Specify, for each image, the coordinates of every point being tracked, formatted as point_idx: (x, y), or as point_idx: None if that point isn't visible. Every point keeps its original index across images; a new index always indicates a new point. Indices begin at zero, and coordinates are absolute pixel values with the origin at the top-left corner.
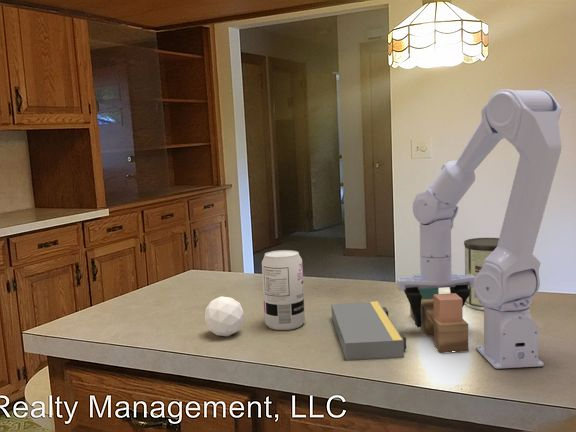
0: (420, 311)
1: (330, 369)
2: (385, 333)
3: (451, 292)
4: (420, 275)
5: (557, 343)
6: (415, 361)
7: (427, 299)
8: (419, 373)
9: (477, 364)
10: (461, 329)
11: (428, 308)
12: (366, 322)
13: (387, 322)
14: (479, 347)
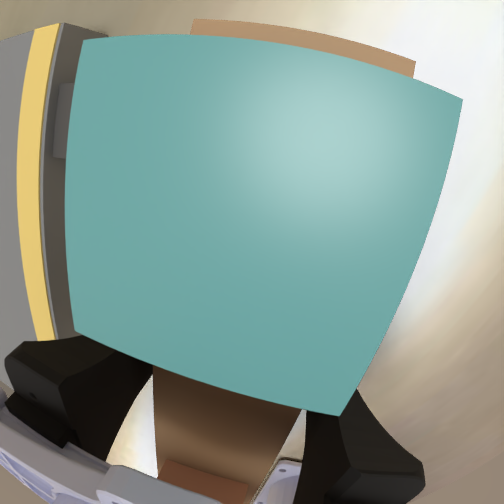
0: (135, 396)
1: None
2: None
3: (331, 462)
4: (169, 84)
5: (463, 465)
6: (125, 432)
7: None
8: (125, 456)
9: None
10: None
11: (172, 406)
12: (1, 293)
13: (45, 332)
14: (284, 468)
